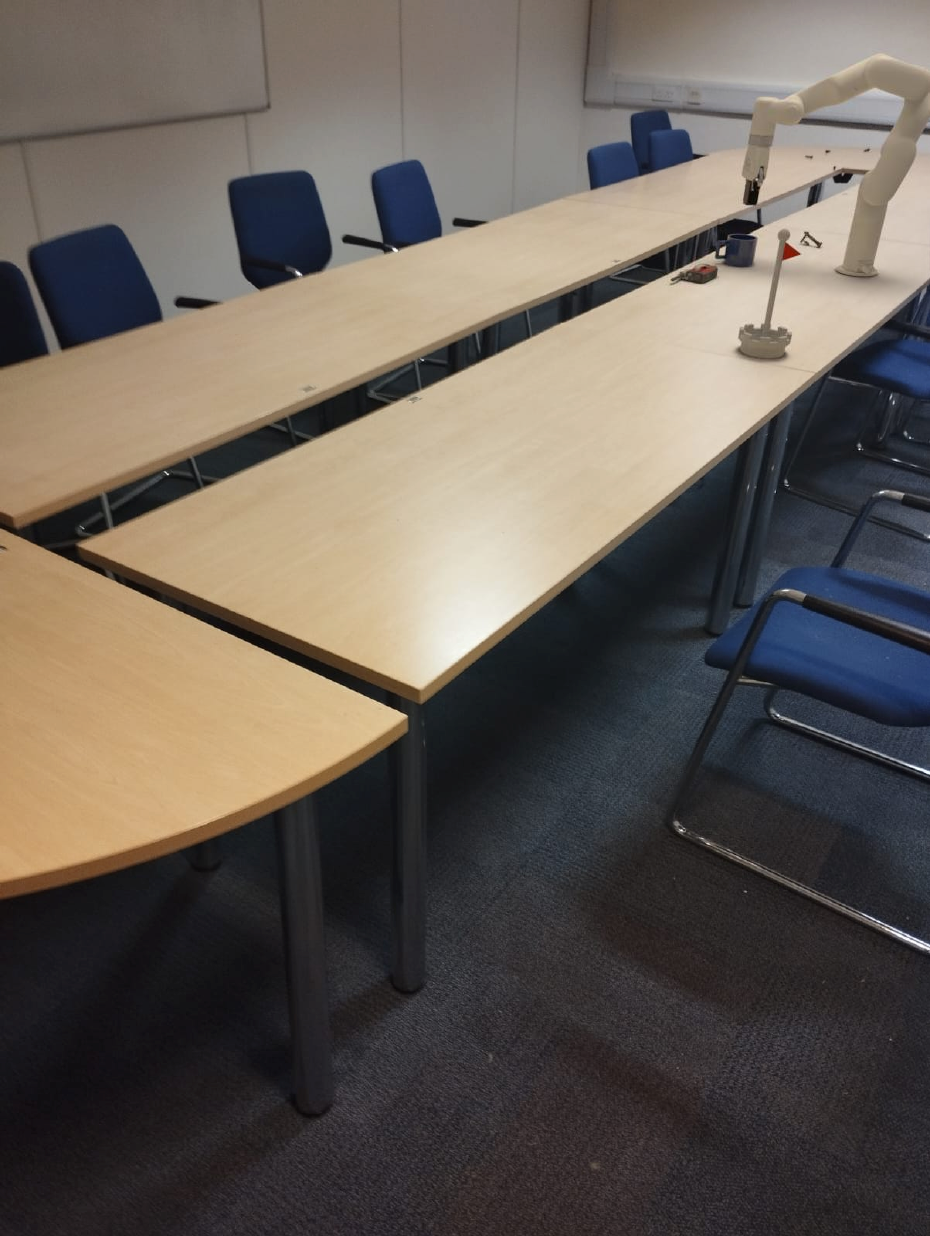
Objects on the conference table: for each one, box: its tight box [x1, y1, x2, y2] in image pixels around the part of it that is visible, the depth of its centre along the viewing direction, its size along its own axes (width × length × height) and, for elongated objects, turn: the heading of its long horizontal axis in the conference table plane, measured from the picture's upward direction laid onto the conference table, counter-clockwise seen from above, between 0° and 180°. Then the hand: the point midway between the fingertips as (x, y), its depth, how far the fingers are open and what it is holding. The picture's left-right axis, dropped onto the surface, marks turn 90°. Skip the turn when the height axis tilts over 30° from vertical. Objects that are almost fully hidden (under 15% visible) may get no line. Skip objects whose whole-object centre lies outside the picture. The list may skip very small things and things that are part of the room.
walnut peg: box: [742, 181, 757, 206], centre depth 318 cm, size 3×3×7 cm
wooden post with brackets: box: [799, 230, 823, 249], centre depth 354 cm, size 2×8×4 cm, turn 45°
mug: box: [714, 233, 759, 268], centre depth 328 cm, size 13×10×8 cm
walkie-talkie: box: [670, 262, 719, 284], centre depth 309 cm, size 9×4×20 cm
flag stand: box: [737, 228, 802, 359], centre depth 243 cm, size 13×13×30 cm
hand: (750, 201), depth 320 cm, fingers closed on walnut peg, 3 cm apart
